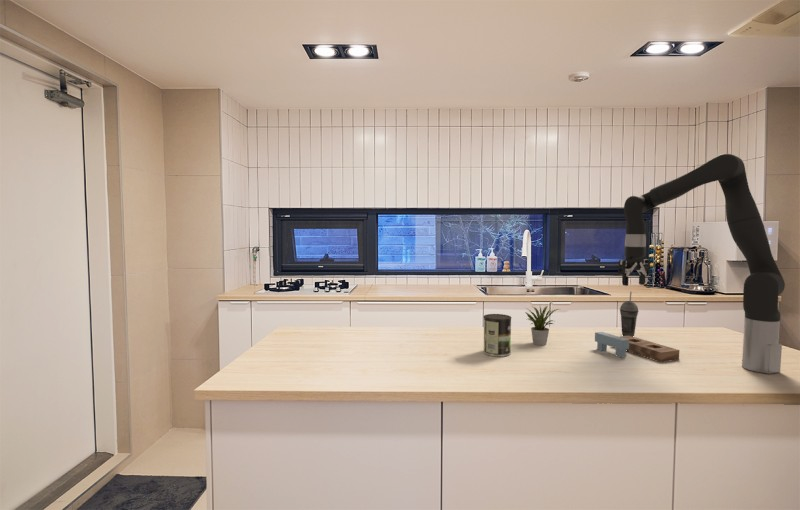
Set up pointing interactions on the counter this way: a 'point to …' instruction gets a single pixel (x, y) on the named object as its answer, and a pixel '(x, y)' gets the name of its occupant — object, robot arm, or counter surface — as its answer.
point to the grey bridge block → (612, 343)
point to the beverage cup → (628, 317)
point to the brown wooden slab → (651, 349)
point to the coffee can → (497, 335)
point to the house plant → (540, 326)
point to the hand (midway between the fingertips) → (633, 285)
